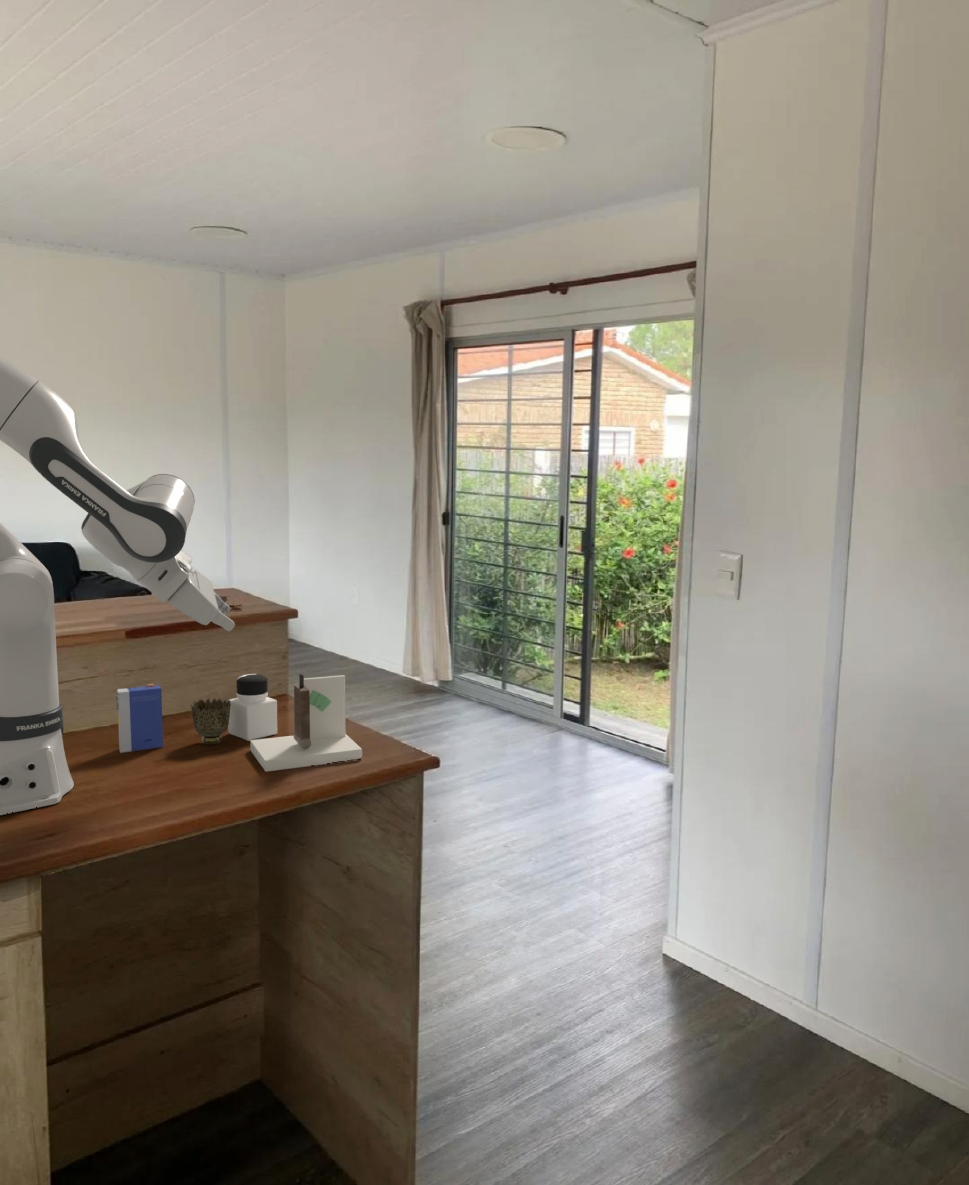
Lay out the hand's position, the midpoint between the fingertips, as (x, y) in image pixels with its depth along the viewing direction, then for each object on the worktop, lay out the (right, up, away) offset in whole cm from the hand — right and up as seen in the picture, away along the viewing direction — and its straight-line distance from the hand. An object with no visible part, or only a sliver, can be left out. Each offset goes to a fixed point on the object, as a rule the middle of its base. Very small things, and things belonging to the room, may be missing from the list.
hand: (230, 619), depth 172 cm
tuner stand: (+12, -26, +10) cm, 30 cm away
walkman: (-20, -25, +13) cm, 35 cm away
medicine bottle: (-1, -24, +23) cm, 33 cm away
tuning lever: (+11, -23, +8) cm, 27 cm away
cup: (-8, -25, +17) cm, 31 cm away
